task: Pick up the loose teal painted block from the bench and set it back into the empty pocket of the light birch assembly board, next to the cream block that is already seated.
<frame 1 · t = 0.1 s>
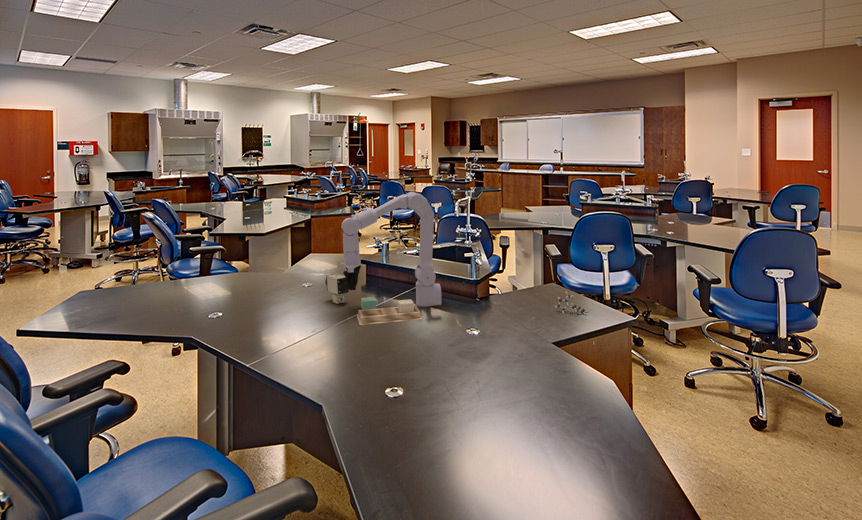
hand: (353, 287, 185), 10 cm above the table, tool pointing down, fingers open, 7 cm apart
assembly board: (389, 319, 178), on the table
teal block: (368, 312, 188), on the table
molecule model: (571, 313, 182), on the table
cream block: (405, 315, 179), point 1 cm above the table, touching assembly board
pneumatic valve: (339, 302, 201), on the table
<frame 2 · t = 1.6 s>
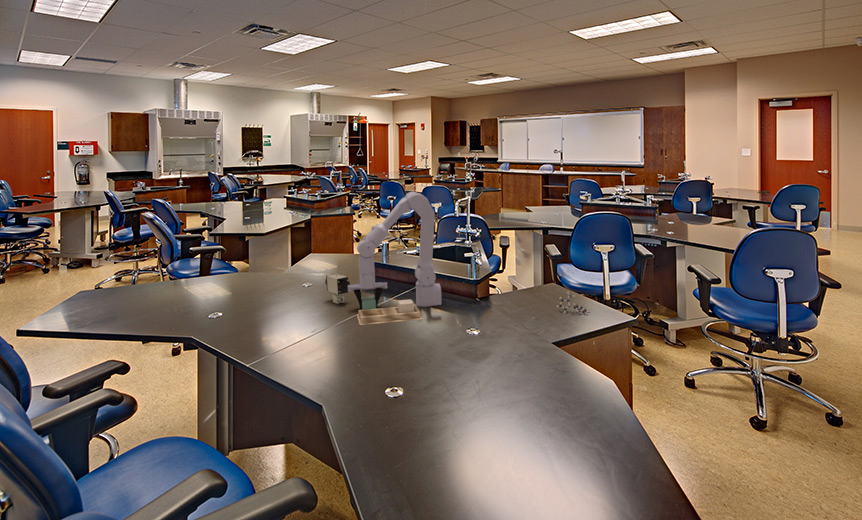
hand: (368, 308, 188), 1 cm above the table, tool pointing down, fingers closed on teal block, 5 cm apart
teal block: (368, 311, 188), on the table, touching gripper
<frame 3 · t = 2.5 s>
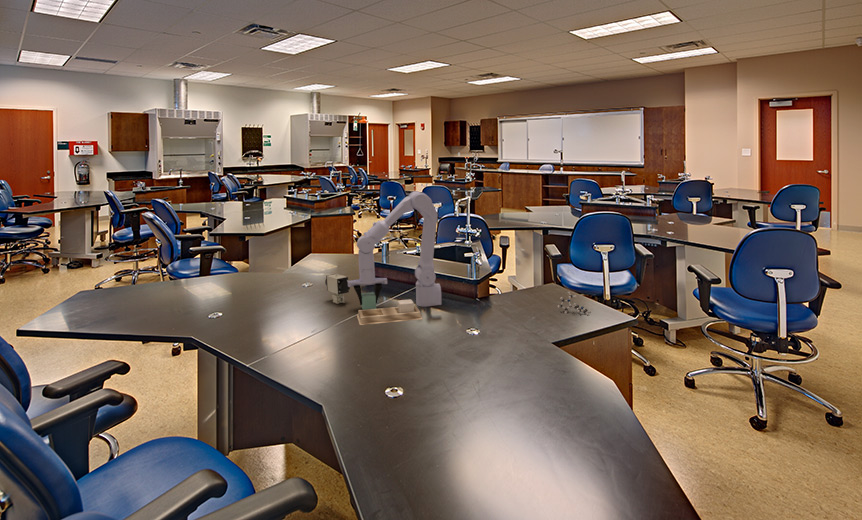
hand: (368, 303, 187), 3 cm above the table, tool pointing down, fingers closed on teal block, 5 cm apart
teal block: (368, 307, 188), point 2 cm above the table, touching gripper
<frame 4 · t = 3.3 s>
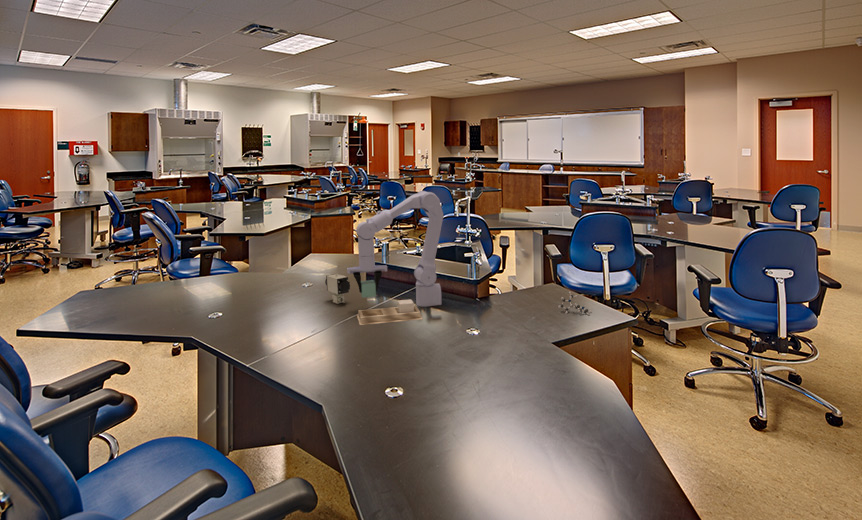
hand: (368, 291, 185), 8 cm above the table, tool pointing down, fingers closed on teal block, 5 cm apart
teal block: (368, 295, 185), point 7 cm above the table, touching gripper
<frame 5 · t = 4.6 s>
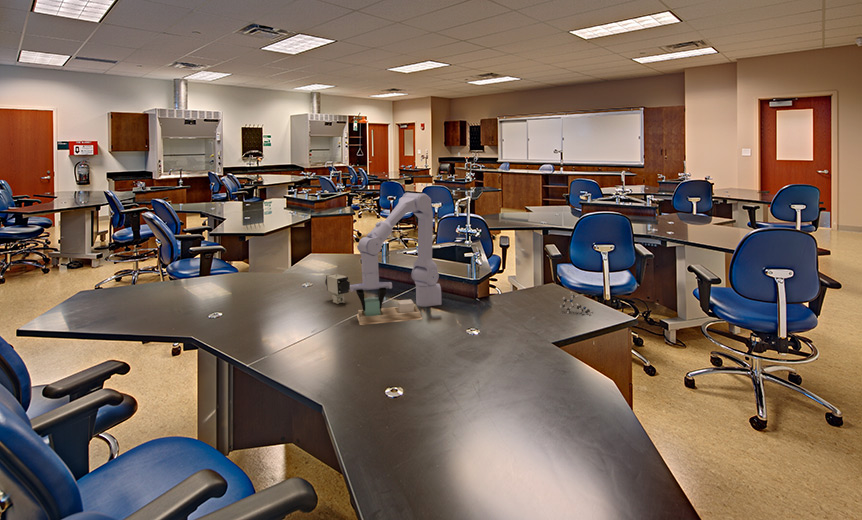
hand: (372, 309, 176), 4 cm above the table, tool pointing down, fingers closed on teal block, 5 cm apart
teal block: (372, 313, 176), point 3 cm above the table, touching gripper
when the fingers open (4 cm above the table, at t = 5.2 s): teal block drops 1 cm, resting on assembly board.
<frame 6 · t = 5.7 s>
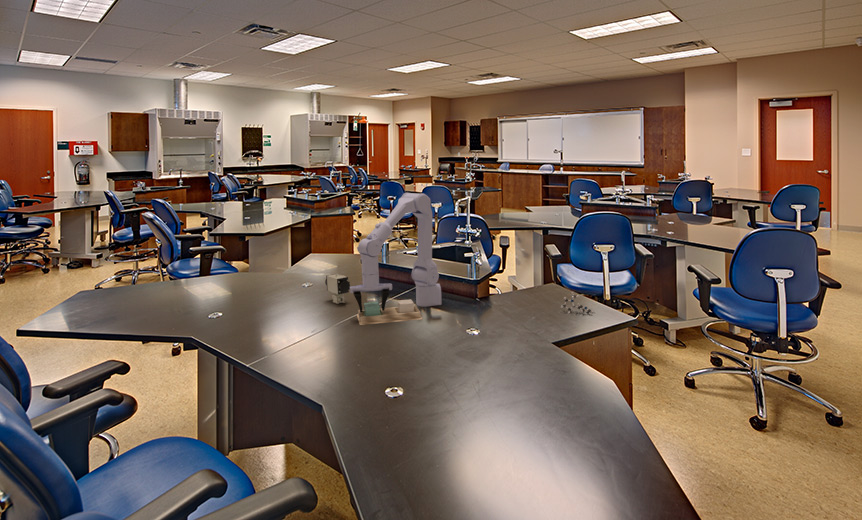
hand: (372, 310, 176), 4 cm above the table, tool pointing down, fingers open, 7 cm apart
teal block: (372, 318, 177), point 1 cm above the table, touching assembly board
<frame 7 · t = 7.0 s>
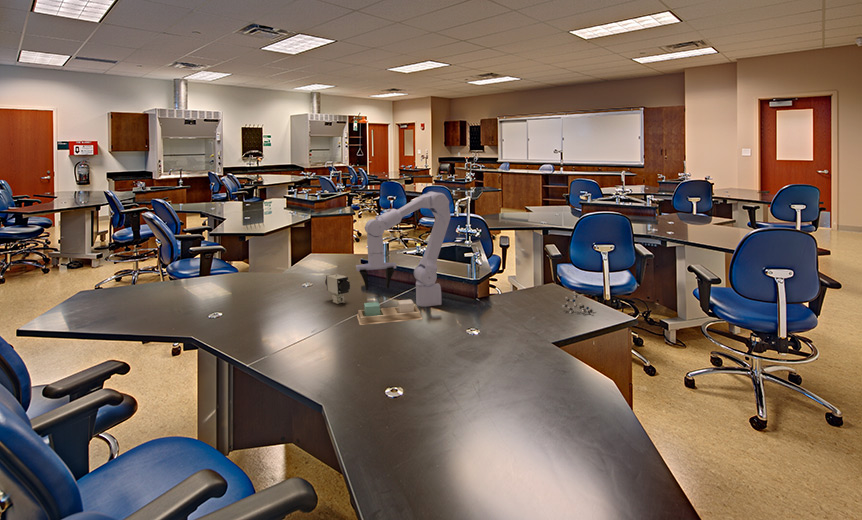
hand: (377, 288, 185), 9 cm above the table, tool pointing down, fingers open, 7 cm apart
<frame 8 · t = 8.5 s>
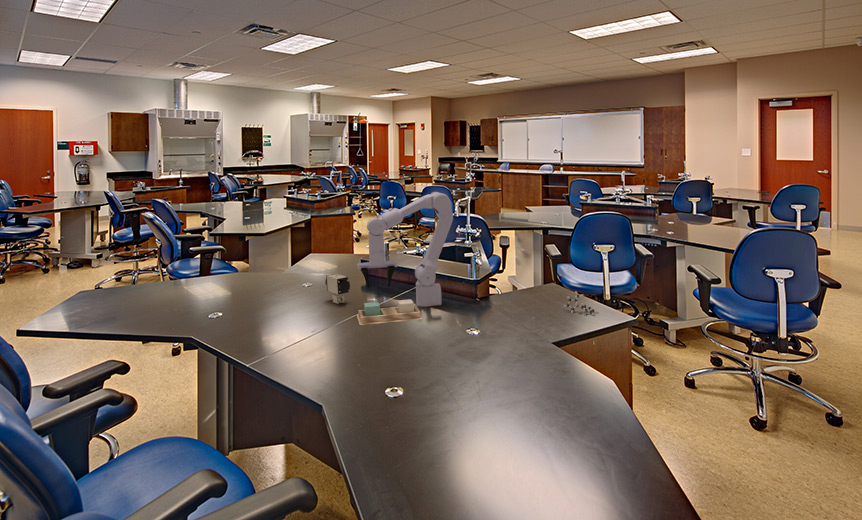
hand: (378, 286, 187), 9 cm above the table, tool pointing down, fingers open, 7 cm apart
at the end: teal block 0.3 cm from the target spot on the assembly board, point 1.2 cm above the assembly board's base; teal block tilted 0°; the gripper is holding nothing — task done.
